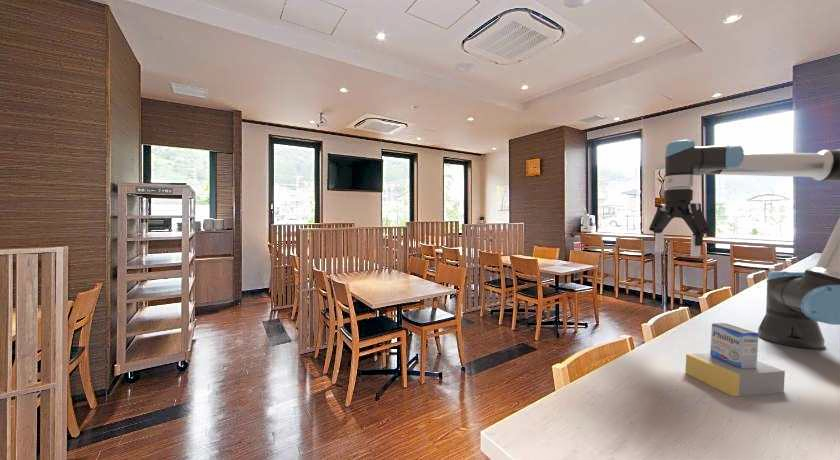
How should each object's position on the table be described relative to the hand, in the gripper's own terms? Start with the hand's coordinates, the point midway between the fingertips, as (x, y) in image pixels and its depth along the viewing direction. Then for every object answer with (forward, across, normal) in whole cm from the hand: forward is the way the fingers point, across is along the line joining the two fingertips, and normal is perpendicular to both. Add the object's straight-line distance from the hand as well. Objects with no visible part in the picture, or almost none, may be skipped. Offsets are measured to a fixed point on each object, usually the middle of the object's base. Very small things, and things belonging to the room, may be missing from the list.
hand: (676, 254), depth 115 cm
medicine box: (+24, +28, -11) cm, 38 cm away
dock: (+29, +28, -11) cm, 42 cm away
